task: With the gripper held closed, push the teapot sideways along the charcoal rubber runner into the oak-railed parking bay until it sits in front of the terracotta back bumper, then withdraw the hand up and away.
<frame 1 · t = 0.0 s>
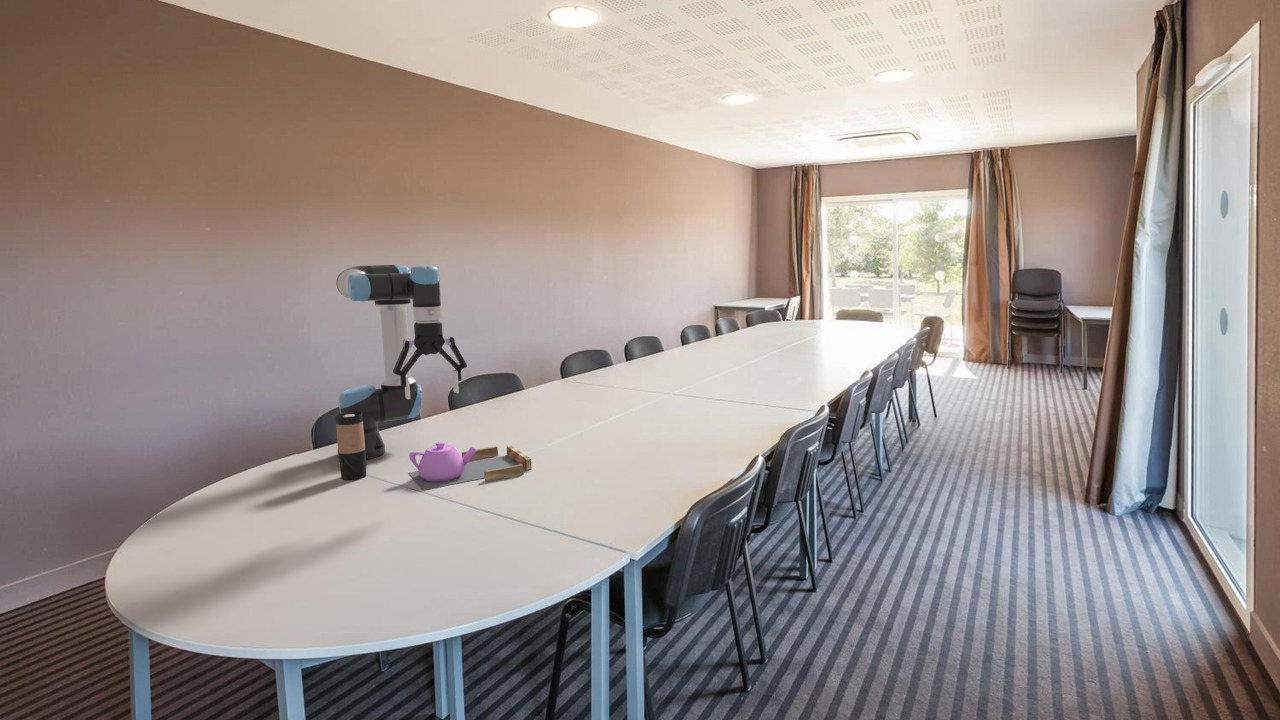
hand: (432, 395, 185), 28 cm above the table, fingers open, 13 cm apart
bay: (494, 466, 208), on the table
teapot: (445, 476, 200), resting on runner
travel mug: (354, 477, 200), on the table
runner: (470, 471, 204), on the table
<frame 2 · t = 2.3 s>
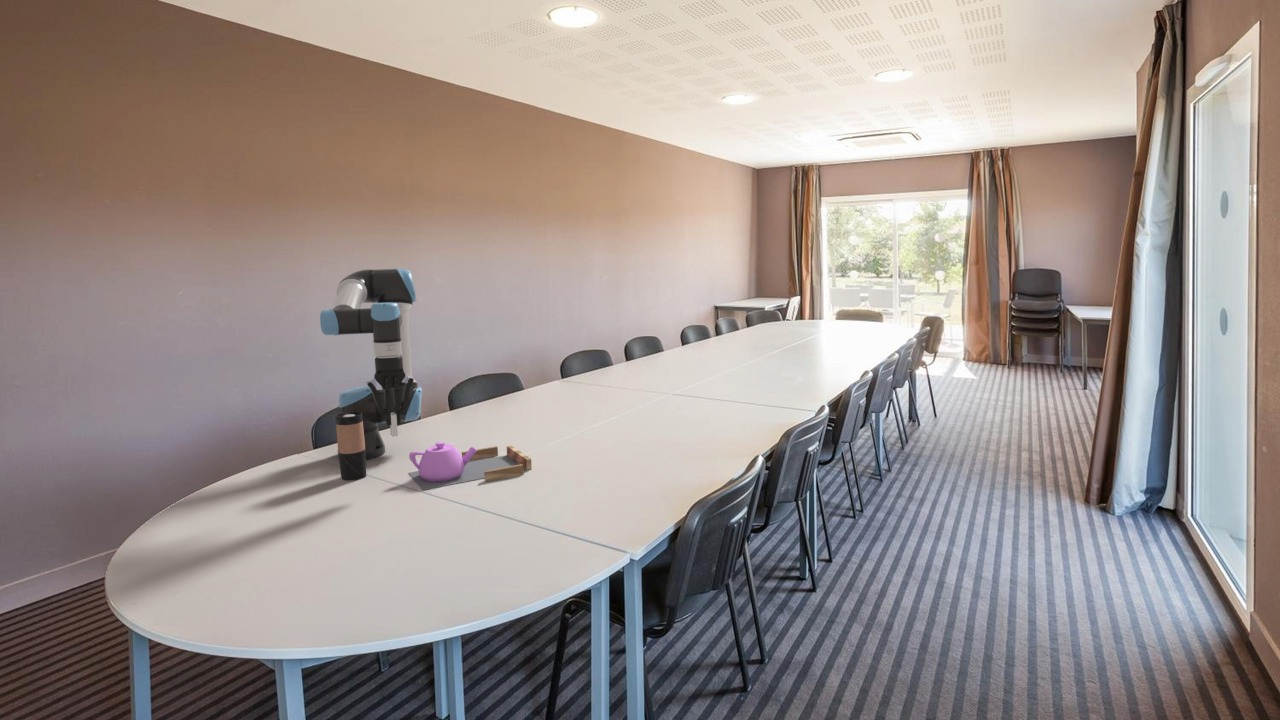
hand: (394, 435, 190), 15 cm above the table, fingers closed
nothing on the table moved.
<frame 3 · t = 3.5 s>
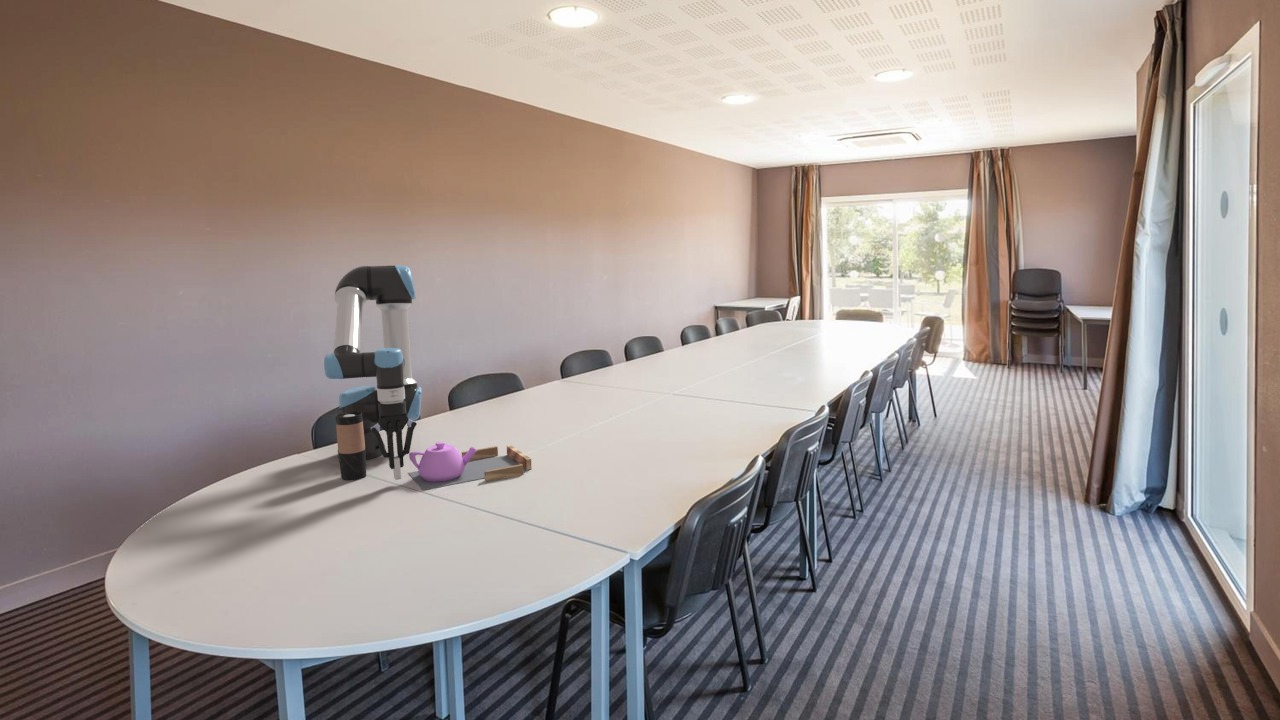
hand: (397, 478, 192), 2 cm above the table, fingers closed
nothing on the table moved.
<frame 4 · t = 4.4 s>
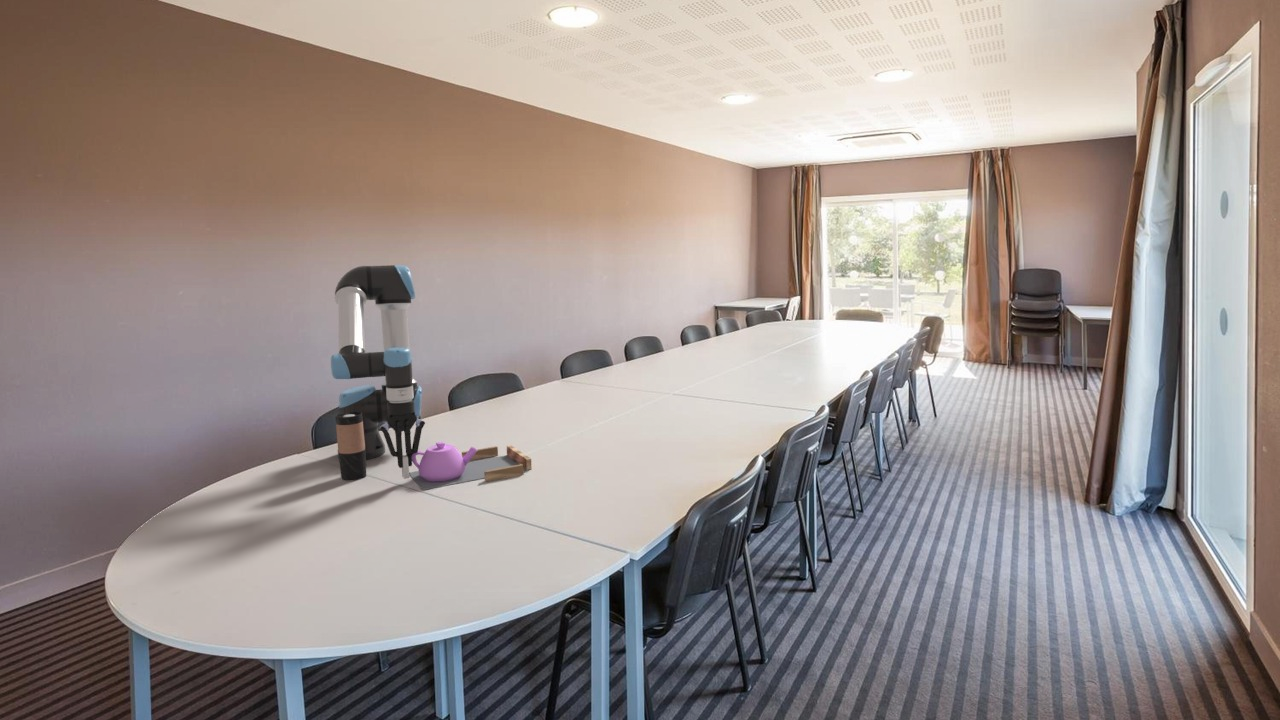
hand: (405, 477, 193), 2 cm above the table, fingers closed
teapot: (445, 475, 200), resting on runner, touching gripper
everything else where it was.
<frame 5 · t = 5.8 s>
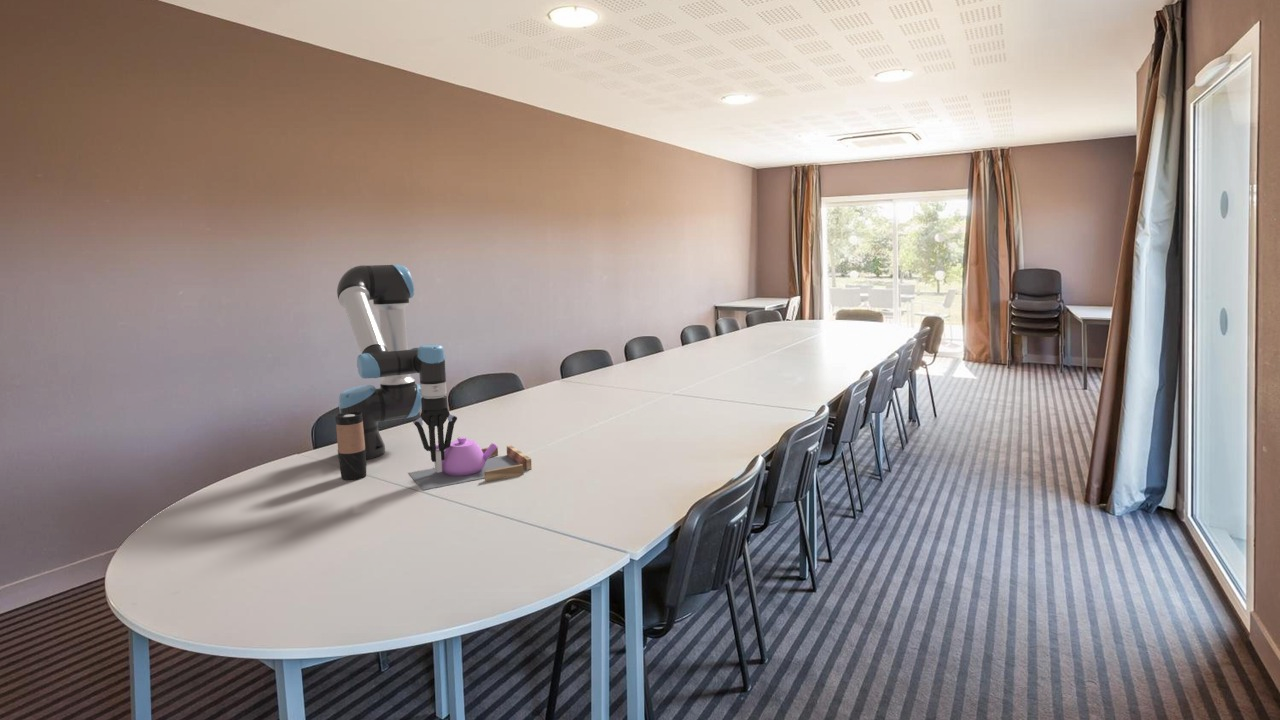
hand: (438, 470, 198), 2 cm above the table, fingers closed
teapot: (466, 470, 205), resting on runner, touching gripper
everything else where it was.
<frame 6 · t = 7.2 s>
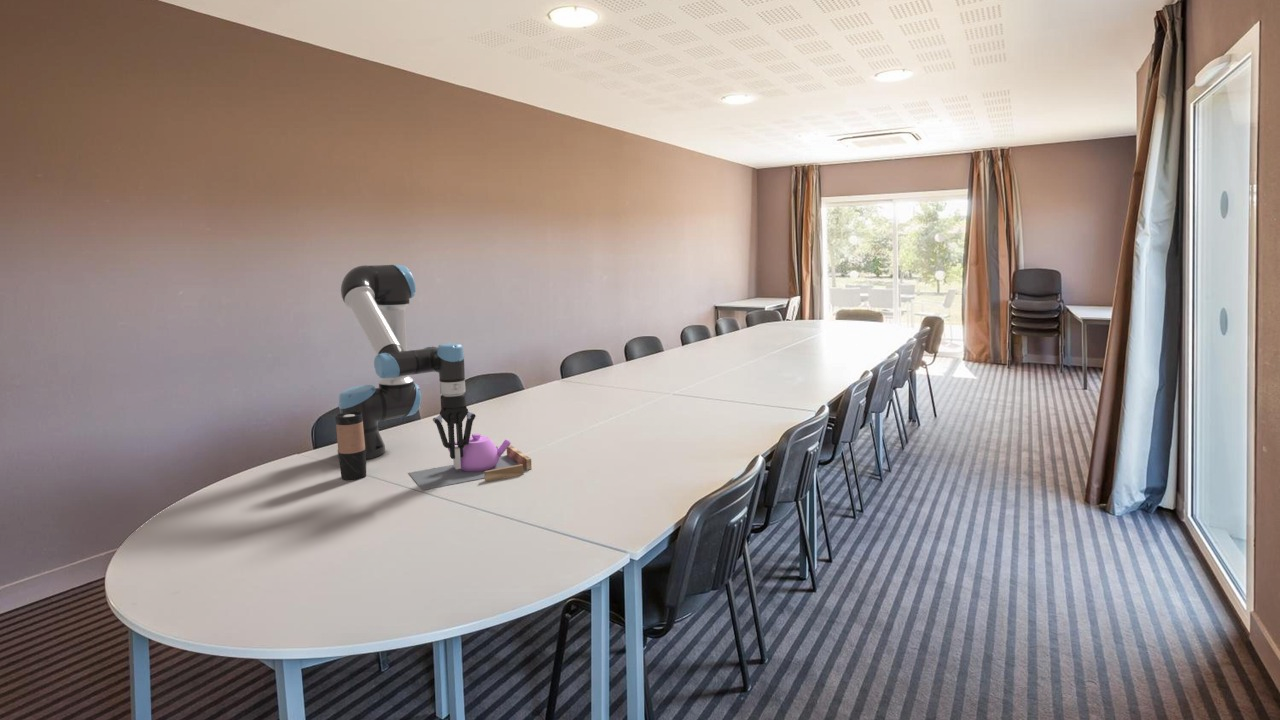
hand: (457, 467, 202), 2 cm above the table, fingers closed
teapot: (480, 466, 209), resting on runner, touching gripper
everything else where it was.
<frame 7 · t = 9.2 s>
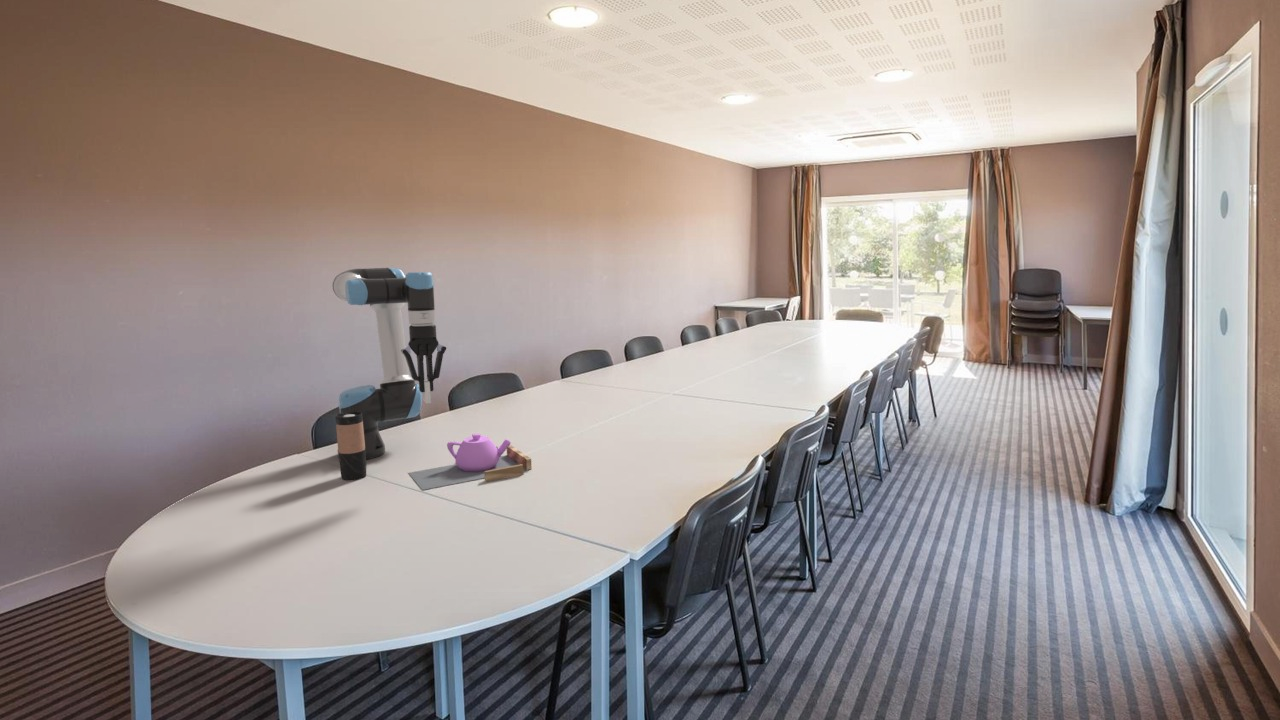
hand: (427, 402, 194), 24 cm above the table, fingers closed
teapot: (480, 466, 209), resting on runner
everything else where it was.
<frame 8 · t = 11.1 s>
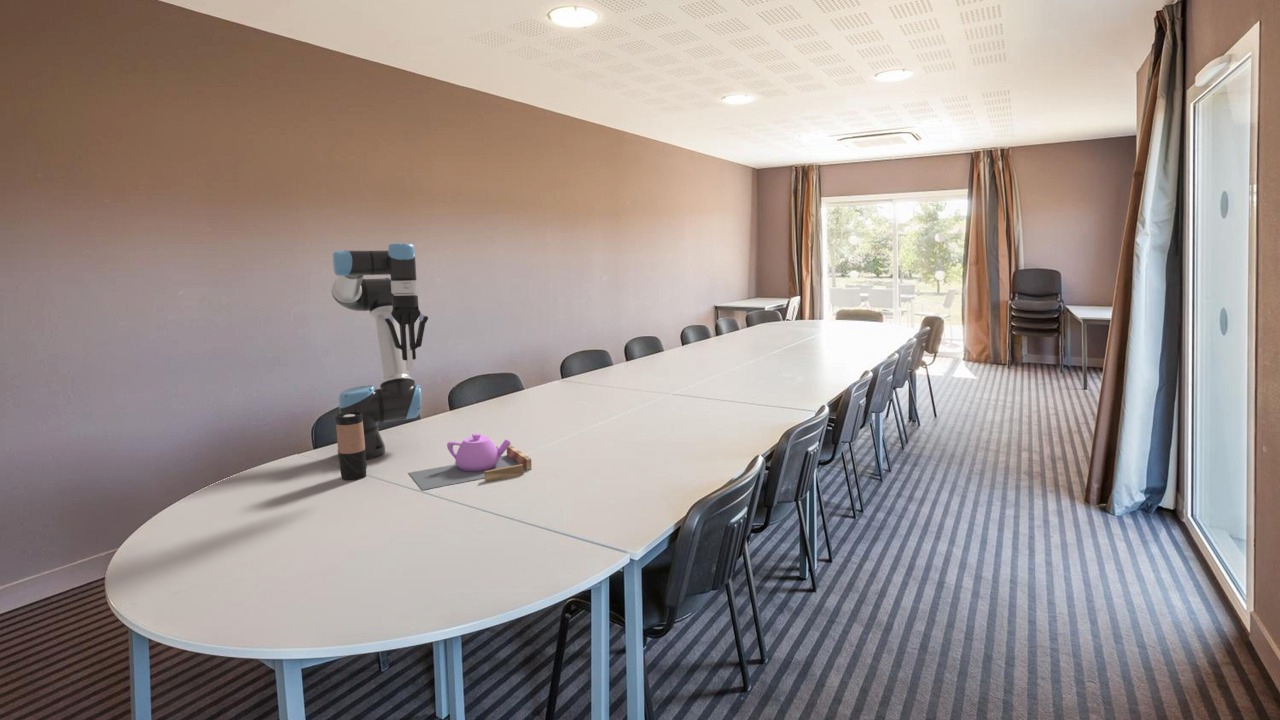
hand: (409, 370, 201), 32 cm above the table, fingers closed
nothing on the table moved.
at the end: teapot inside the target area (3.4 cm from its centre), resting on runner; teapot tilted 0°; teapot moved 12.6 cm from its start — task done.
